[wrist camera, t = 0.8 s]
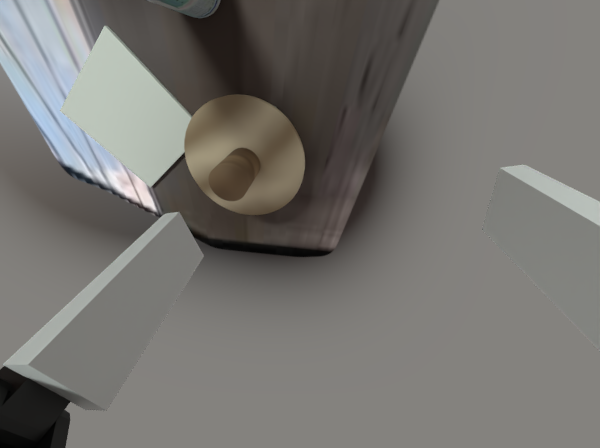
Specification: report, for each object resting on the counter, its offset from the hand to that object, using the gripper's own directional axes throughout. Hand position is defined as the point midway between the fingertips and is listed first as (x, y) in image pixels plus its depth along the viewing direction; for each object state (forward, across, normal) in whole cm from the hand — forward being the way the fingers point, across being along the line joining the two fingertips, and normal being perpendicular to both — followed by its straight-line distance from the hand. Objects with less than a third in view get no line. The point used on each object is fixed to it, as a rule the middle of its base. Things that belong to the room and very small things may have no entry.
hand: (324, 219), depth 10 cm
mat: (+26, -27, +4) cm, 38 cm away
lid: (+20, -10, -3) cm, 22 cm away
